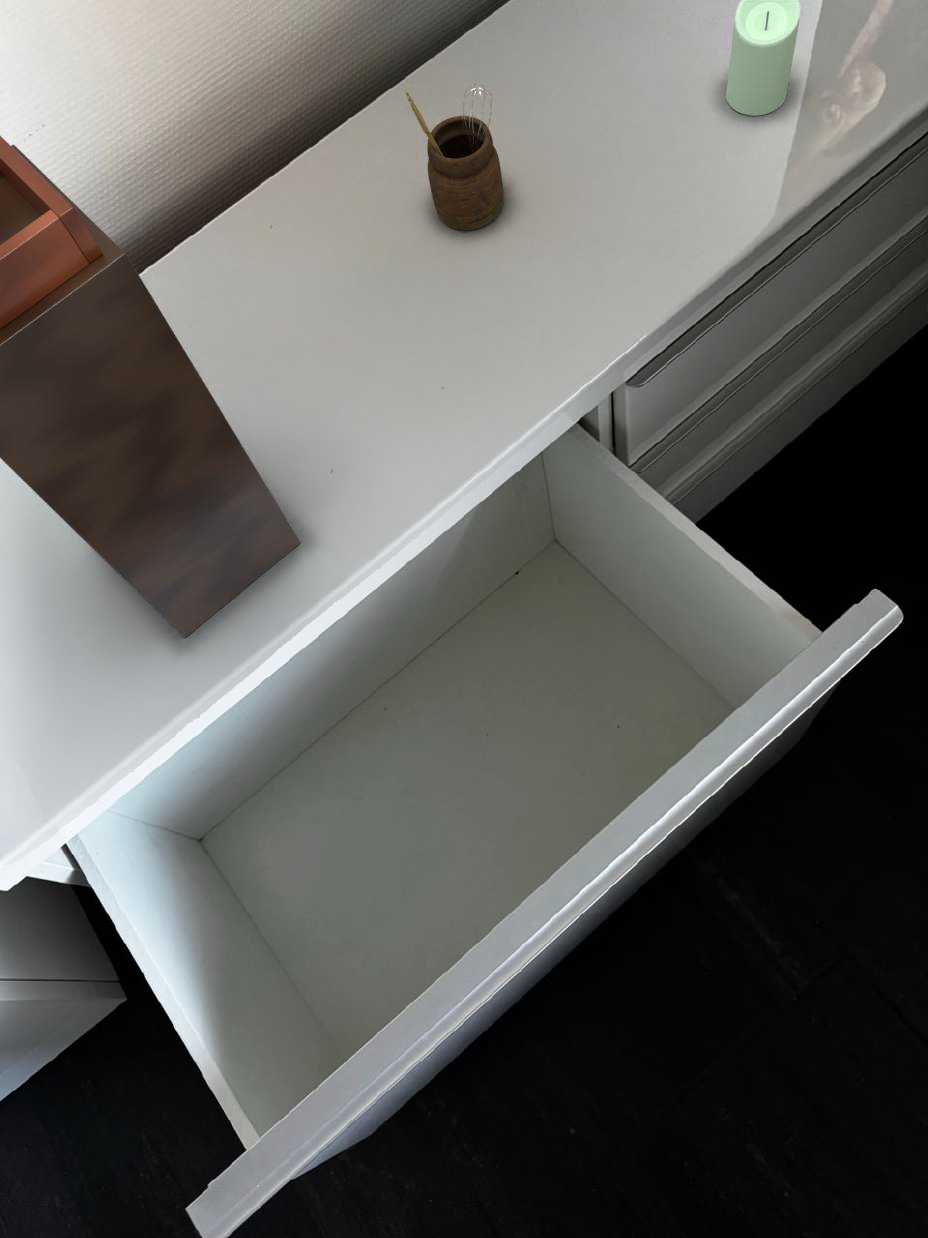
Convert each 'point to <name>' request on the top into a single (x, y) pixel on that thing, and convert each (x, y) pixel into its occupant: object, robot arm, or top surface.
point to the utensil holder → (463, 169)
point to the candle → (762, 54)
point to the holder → (120, 413)
